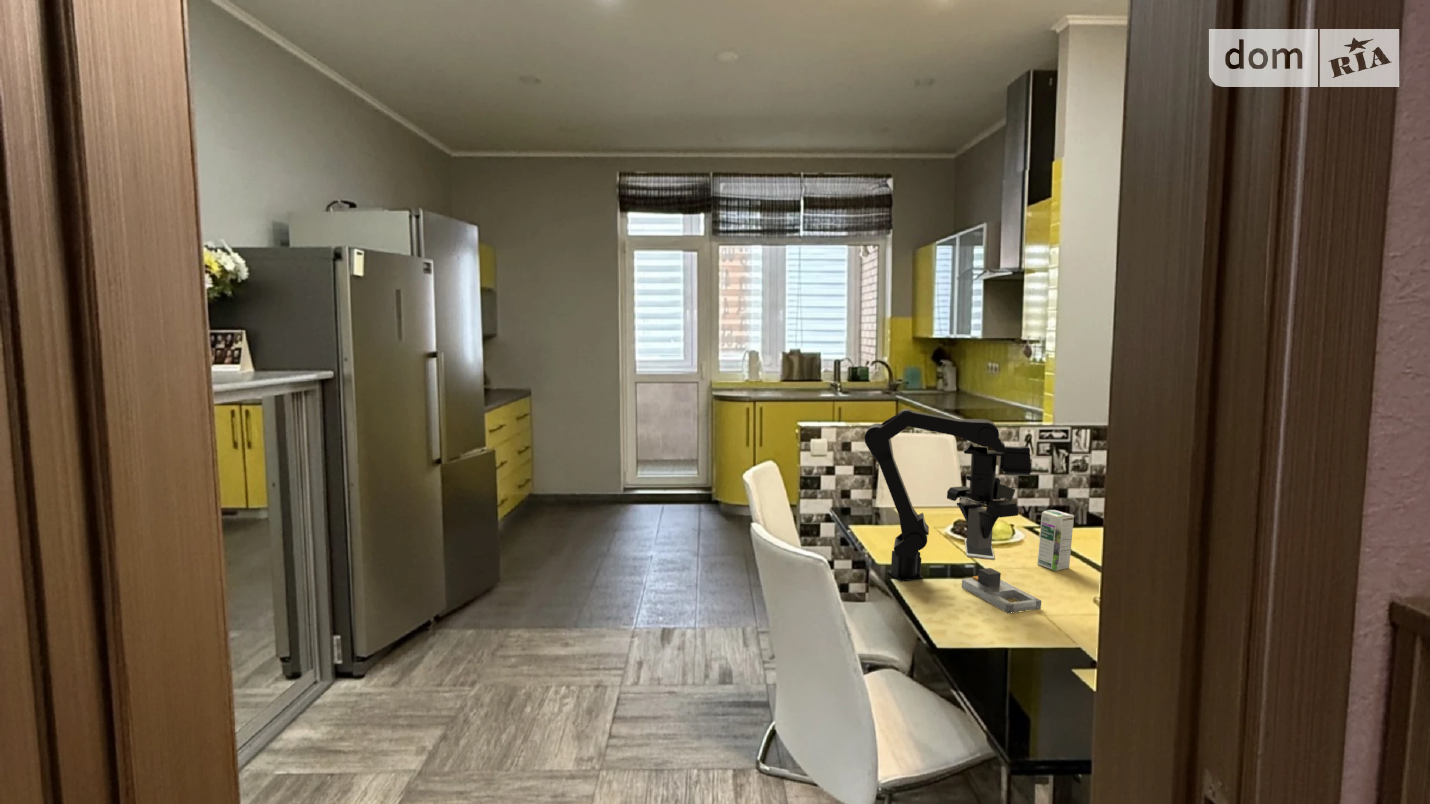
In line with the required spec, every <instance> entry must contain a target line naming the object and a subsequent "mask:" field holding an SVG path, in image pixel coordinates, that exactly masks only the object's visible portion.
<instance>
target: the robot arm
mask: <svg viewBox="0 0 1430 804" xmlns="http://www.w3.org/2000/svg"><path fill="white" fill-rule="evenodd" d="M906 428H915V429H920V430H925V431H931V432H936V433H940V434H946V435H951V436H955V437H958V438H961V439H963V440H965V441H967V442H969V443H968V445H967V446H966V447H965V448H963V453H964V454H966V455H970V459H971V460H970V471H969V472H970V474H967V475H965V476H966V477H965V480H967V481H969V487H968V486H963V485H962V486H952V487H949V489H948V490H947V493H946V499H947V500H951V501H952V502H955V501H957V500H958V499H959V501H958V502H957V503H956V506H957V507H959V510H960V512H961V513H962V515H963V518H964V521H965V522H966V524H967V526H968V511H969V508H976V507H984V508H986V509H985V511H982V512H979V517H980V523H981V529H982V535H983V538H984V539H987V538H988V537H989V535H990V533H991V530H992V531H993V529H994V526H995V523H996V522H997V521H998V519H999V518H1007V517H1008V518H1009V517H1016V516H1019V506H1018V504H1017V503H1016V502H1012V501H1013V499H1014V496H1015V493H1016V489H1015V488H1012V487H1009V486H1006V485H1004V484H1001V479H1000V478H999V477H997V475H996V474H997V458H998V457H999V458H998V470H1001V471H1002V473H1003V475H1012V476H1013V475H1014V476H1026V477H1027V476H1031V471H1032V469H1031V468H1032V462H1031V448H1030V446H1026V445H1025V446H1010V445H1007V446H1006V445H1005V443H1004V441H1003V440H1001V439H1000V432H999V429H998V427H997V426H996V424H995V423H994V422H993V421H992V420H990V419H986V418H984V419H983V418H967V419H966V418H965V419H961V418H960V419H959V418H955V417H954V418H952V417H947V416H941V415H937V414H931V413H926V412H921V411H915V410H912V409H909V408H903V409H901V410H900V411H899V412H898V413H897V414H895V415H894V416H892V417H890V418H888V419H886V420H884V421H883V422H882V423H874V424H873V423H872V425H870V426H869V427H868V428H867V430H866V433H865V434H864V437H863V438H864V443H865V445H866V447H867V449H868V451H869V452H870V453H871V455H872V456H873V458H874V459H875V461H876V462H877V463H878V464H879V467H880V469H881V472H882V473H881V474H882V475H883V478H884V480H885V483H886V486H887V488H888V490H889V491H888V492H889V493H890V496H891V499H892V501H893V504H894V506H895V509H896V511H897V515H898V519H899V525H900V532H901V533H900V534H899V535H897V536H896V537H894V538H895V540H894V543H893V544H894V546H893V550H891V565H890V569H888V570H886V571H887V574H889V575H890V576H892V577H894V578H896V579H897V580H899V581H903V582H904V581H912V580H921V579H923V578H924V577H923V576H924V575H921V570H922V569H921V568H922V557H921V552H920V551H921V550H923V549H924V548H925V547H926V545H927V544H928V536H929V534H930V531H929V530H930V526H929V525H928V524H927V523H926V519H925V515H924V512H921V513H919V514H918V513H917V511H916V510H915V508H914V507H913V504H912V501H911V497H910V496H909V493H908V491H907V489H906V485H905V483H904V481H903V478H902V476H901V473H900V471H899V468H898V465H897V463H896V460H895V457H894V451H893V444H892V438H894V437H895V436H896V435H898V434H899V433H901V432H902V431H904V430H905V429H906ZM974 444H975V445H978V446H975V445H974ZM988 447H989V448H991V449H992V450H988Z"/></svg>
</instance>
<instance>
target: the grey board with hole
mask: <svg viewBox="0 0 1430 804" xmlns="http://www.w3.org/2000/svg"><path fill="white" fill-rule="evenodd" d="M977 572H978V573H977V575H974V576H972V577H969V578H963V579H961V588H962V589H964V590H966V591H968V592H970V593H971V594H972V595H975V596H977V597H978V596H979V597H978V598H980V599H981V598H982V599H981V600H984V602H987V603H989V604H990V603H991V604H990V605H992V604H993V605H992V606H993V607H995V608H997V607H998V608H997V609H999V610H1001V611H1002V610H1004V611H1005V612H1004V611H1003V612H1004V613H1006V612H1007V613H1006V614H1008V613H1010V614H1014V613H1013V612H1017V613H1020V612H1019V611H1024V612H1027V611H1026V610H1031V611H1037V610H1036V609H1038V610H1041V608H1042V600H1041V599H1039V598H1037V597H1035V596H1033V595H1032V594H1029V593H1028V592H1026V591H1024V590H1022V589H1020V588H1018V587H1016V586H1014V585H1012V584H1010V583H1008V582H1007V581H1004V580H1002V579H1001V576H1002V575H1001V574H1002V573H1001V572H999V571H998V570H996V569H994V568H991V567H989V568H987V567H986V568H980V569H978V571H977ZM1009 598H1010V599H1014V598H1015V599H1014V600H1016V601H1014V602H1011V601H1009V600H1010V599H1009ZM1008 599H1009V600H1008ZM1018 600H1019V601H1018ZM1011 612H1012V613H1011Z"/></svg>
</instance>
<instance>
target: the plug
mask: <svg viewBox="0 0 1430 804" xmlns="http://www.w3.org/2000/svg"><path fill="white" fill-rule="evenodd" d="M985 509H986V507H985V506H982V507H976V508H969V511H968V525H967V531H966V533H967V534H966V539H967V545H970V546H972V547H974V548H976V549H983V548H991V545H993V543H992V542H993V529H992V530H991V533H990V535H989V537H988V538H987V539H984V538H983V535H982V529H981V523H980V517H979V512H982V511H985Z"/></svg>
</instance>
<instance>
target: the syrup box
mask: <svg viewBox="0 0 1430 804" xmlns="http://www.w3.org/2000/svg"><path fill="white" fill-rule="evenodd" d="M1074 518H1075V514H1070V513H1067V512H1063V511H1060V510H1058V509H1057V510H1056V509H1048V510H1044V511H1042V512H1041V520H1040V530H1039V531H1040V532H1039V543H1038V544H1039V545H1038V555H1037V565H1038V566H1042V567H1045V568H1046V569H1049V570H1051V571H1054V572H1057V571H1062V569H1063V570H1066V569H1067V570H1068V569H1069V568H1070V562H1071V552H1072V542H1073V531H1074V530H1073V529H1074Z"/></svg>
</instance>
